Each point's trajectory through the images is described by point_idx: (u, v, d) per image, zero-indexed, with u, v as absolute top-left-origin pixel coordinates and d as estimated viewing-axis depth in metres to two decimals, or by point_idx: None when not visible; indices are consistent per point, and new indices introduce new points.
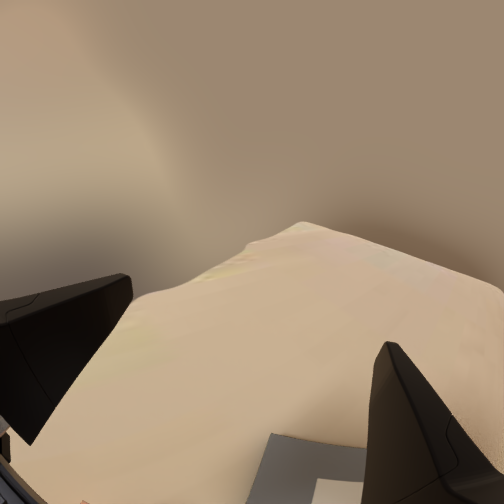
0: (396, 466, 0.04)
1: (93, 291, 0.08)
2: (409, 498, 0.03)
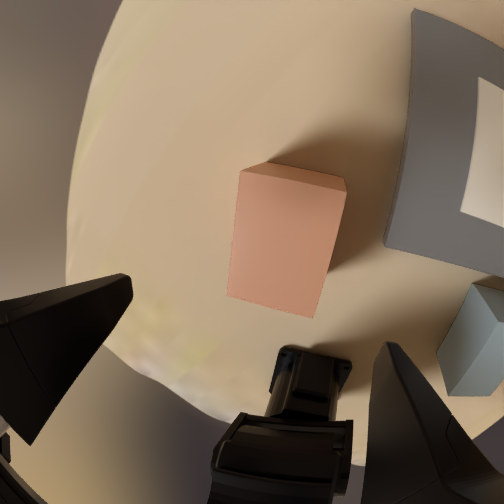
0: (396, 466, 0.04)
1: (93, 291, 0.08)
2: (409, 498, 0.03)
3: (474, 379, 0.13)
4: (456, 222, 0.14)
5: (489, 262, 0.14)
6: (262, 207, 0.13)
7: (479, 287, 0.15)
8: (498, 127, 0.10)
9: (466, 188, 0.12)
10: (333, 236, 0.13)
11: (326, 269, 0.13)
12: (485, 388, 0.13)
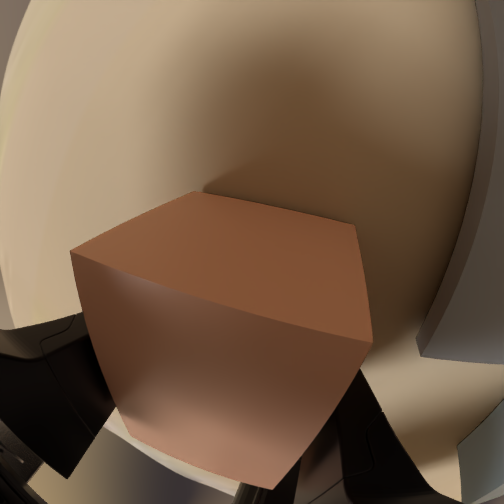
0: (318, 460, 0.04)
1: None
2: (321, 497, 0.03)
3: (498, 491, 0.05)
4: None
5: None
6: (131, 342, 0.05)
7: None
8: None
9: None
10: (315, 425, 0.04)
11: (294, 459, 0.05)
12: None
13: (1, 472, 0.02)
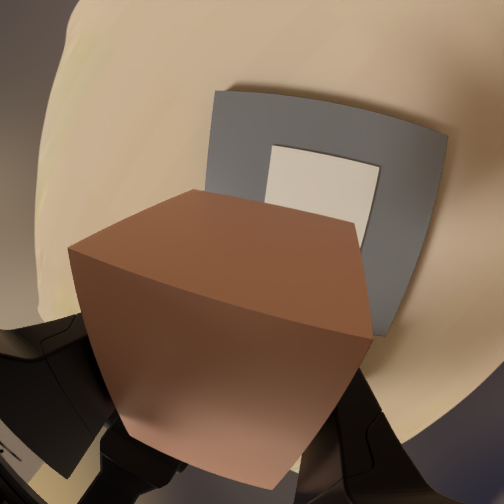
0: (318, 460, 0.04)
1: None
2: (321, 497, 0.03)
3: None
4: None
5: None
6: (129, 340, 0.04)
7: None
8: (296, 190, 0.18)
9: None
10: (314, 424, 0.04)
11: (294, 459, 0.05)
12: None
13: (1, 472, 0.02)
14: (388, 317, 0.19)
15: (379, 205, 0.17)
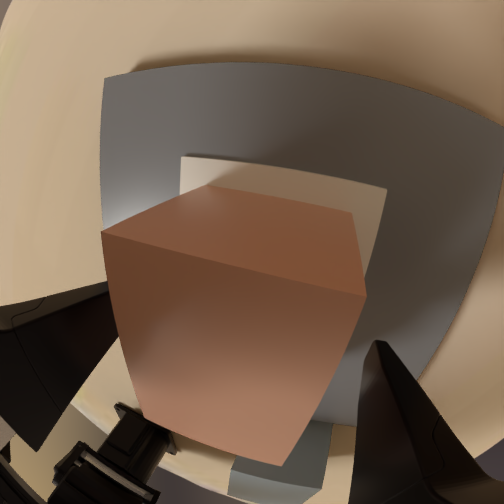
0: (382, 466, 0.04)
1: (101, 294, 0.07)
2: (393, 499, 0.03)
3: (248, 495, 0.13)
4: None
5: None
6: (155, 313, 0.05)
7: None
8: None
9: None
10: (321, 384, 0.05)
11: (303, 426, 0.06)
12: None
13: None
14: None
15: (384, 261, 0.09)
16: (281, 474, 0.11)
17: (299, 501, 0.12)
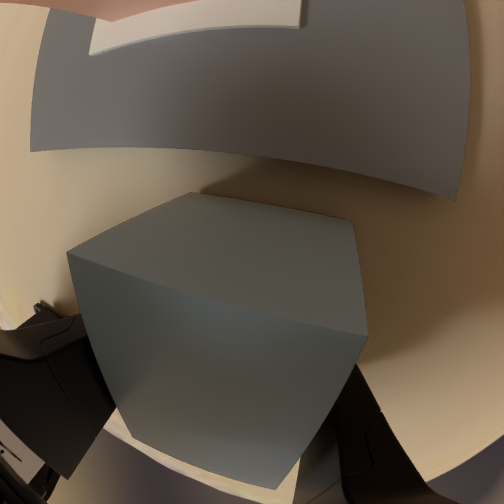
0: (317, 460, 0.04)
1: None
2: (320, 497, 0.03)
3: (160, 431, 0.06)
4: (89, 75, 0.07)
5: (177, 120, 0.07)
6: None
7: (200, 197, 0.08)
8: None
9: (96, 20, 0.06)
10: None
11: None
12: (233, 470, 0.06)
13: (2, 473, 0.02)
14: (450, 121, 0.05)
15: None
16: (206, 276, 0.04)
17: (287, 453, 0.05)
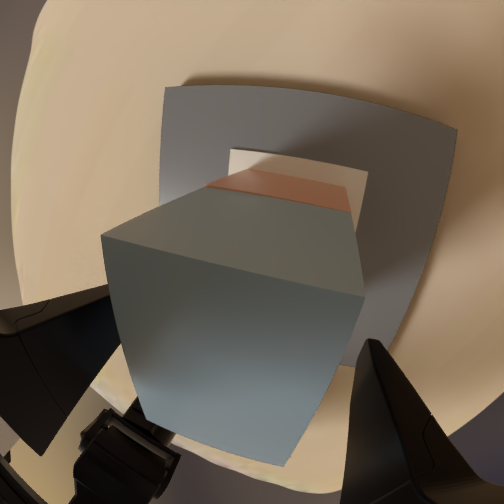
0: (372, 465, 0.04)
1: (107, 297, 0.07)
2: (383, 499, 0.03)
3: (176, 408, 0.07)
4: None
5: None
6: None
7: (214, 191, 0.09)
8: None
9: None
10: None
11: None
12: (244, 446, 0.07)
13: None
14: None
15: (368, 220, 0.13)
16: (230, 252, 0.05)
17: (297, 420, 0.06)
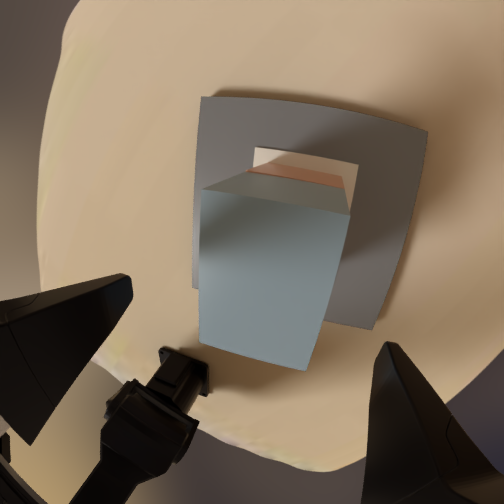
0: (396, 466, 0.04)
1: (93, 291, 0.08)
2: (409, 498, 0.03)
3: (230, 318, 0.11)
4: None
5: None
6: None
7: (253, 174, 0.13)
8: None
9: None
10: None
11: None
12: (278, 349, 0.11)
13: None
14: (373, 310, 0.20)
15: (360, 201, 0.17)
16: (280, 198, 0.09)
17: (317, 311, 0.10)
